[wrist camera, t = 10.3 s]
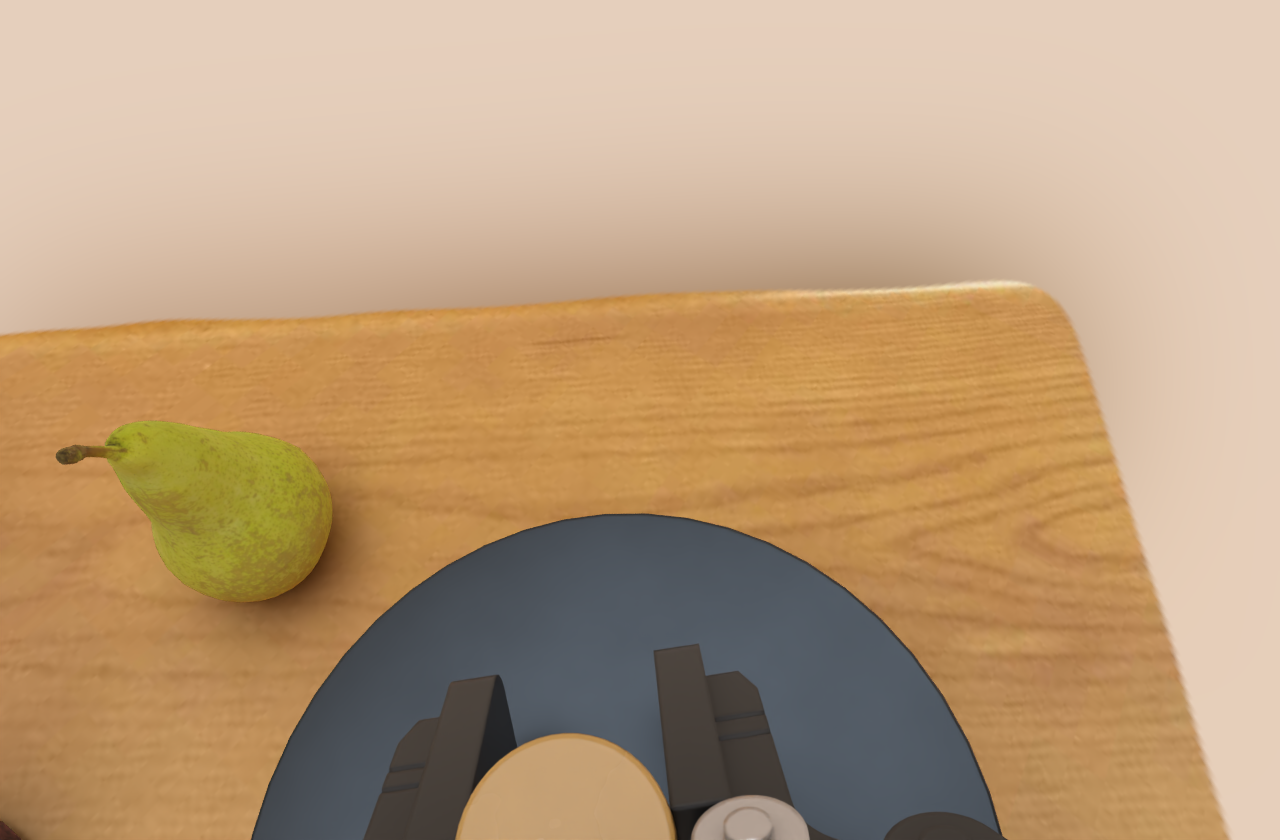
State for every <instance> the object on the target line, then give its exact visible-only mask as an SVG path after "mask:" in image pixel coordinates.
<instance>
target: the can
mask: <svg viewBox="0 0 1280 840" xmlns="http://www.w3.org/2000/svg"><path fill="white" fill-rule="evenodd" d="M0 840H21V838H20V837H18V836H17V835H16V834H15V833H14V832H13V831H12V830H11V829H10V828H9V827H8V826H7V825H5V824H4V823H3V822H2V821H0Z"/></svg>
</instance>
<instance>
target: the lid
mask: <svg viewBox="0 0 1280 840" xmlns="http://www.w3.org/2000/svg"><path fill="white" fill-rule="evenodd" d="M698 643H699V646H700V651H701V656H702V660H703V665H704V670H705V675H706V676H707V675H714V674H720V673H727V672H733V671H739V672H740V673H741V674H742V675H744V676H745V677H746V678H747V679H748V680H749V681H750V682H752V683H753V684H754V685H755V686H756V687H757V688H758V691H759V694H760V697H761V701H762V704H763V707H764V711H765V715H766V717H767V720H768V724H769V727H770V732H771V734H772V737H773V740H774V743H775V747H776V750H777V753H778V757H779V760H780V763H781V766H782V770H783V773H784V776H785V780H786V783H787V786H788V789H789V793H790V796H791V799H792V802H793V805H794V807H795V809H796V811H798V813H799V814H800V815H801V816H802V817H803V819H804V821H805V822H806V823H807V824H809V825H810V826H811V827H813V828H814V829H816V830H817V831H819V832H821V833H823V834H825V835H827V836H830V837H832V838H835V839H839V840H884V838H885V836H886V834H887V833H888V831H889V830H890V829H891V828H892V827H893V826H894V825H895V824H897V823H898V822H899V821H901V820H903V819H905V818H907V817H910V816H913V815H916V814H920V813H926V812H950V813H955V814H960V815H963V816H967V817H970V818H972V819H975V820H977V821H979V822H981V823H983V824H985V825H986V826H988V827H990V828H991V829H993V830H994V831H996V832H997V833H998V834H1000V835H1001V836H1002V832H1001V829H1000V825H999V822H998V818H997V815H996V811H995V808H994V804H993V801H992V797H991V794H990V791H989V789H988V786H987V784H986V781H985V779H984V777H983V774H982V772H981V769H980V767H979V765H978V762H977V760H976V757H975V755H974V753H973V750H972V748H971V745H970V743H969V741H968V739H967V737H966V736H965V734H964V732H963V730H962V728H961V727H960V725H959V723H958V721H957V719H956V718H955V716H954V714H953V712H952V710H951V709H950V707H949V705H948V703H947V701H946V700H945V698H944V696H943V695H942V693H941V692H940V690H939V689H938V688H937V686H936V685H935V684H934V682H933V681H932V679H931V678H930V677H929V675H928V674H927V672H926V671H925V670H924V668H923V667H922V665H921V664H920V663H919V661H918V660H917V658H916V657H915V656H914V654H913V653H912V652H911V651H910V650H909V649H908V648H907V647H906V646H905V645H904V643H903V642H902V641H901V640H900V639H899V638H898V637H897V636H896V635H895V634H894V632H893V631H892V630H891V629H890V628H889V627H888V626H887V625H886V624H885V623H884V622H883V620H882V619H881V618H880V617H878V616H877V615H876V614H875V613H874V612H873V611H871V610H870V609H869V608H868V607H867V606H866V605H865V604H863V603H862V602H861V601H860V600H859V599H858V598H856V597H855V596H854V595H853V594H852V593H851V592H850V591H848V590H847V589H846V588H845V587H843V586H842V585H840V584H839V583H837V582H836V581H834V580H833V579H831V578H830V577H829V576H827V575H826V574H824V573H823V572H821V571H820V570H818V569H817V568H815V567H814V566H812V565H811V564H809V563H808V562H806V561H804V560H802V559H800V558H798V557H796V556H794V555H792V554H790V553H788V552H786V551H784V550H782V549H781V548H779V547H777V546H775V545H773V544H771V543H769V542H766V541H763V540H761V539H758V538H755V537H753V536H750V535H747V534H744V533H742V532H739V531H736V530H734V529H731V528H728V527H724V526H719V525H715V524H711V523H707V522H702V521H698V520H694V519H690V518H682V517H673V516H664V515H655V514H602V515H595V516H587V517H580V518H572V519H565V520H561V521H557V522H553V523H549V524H545V525H541V526H538V527H534V528H530V529H526V530H523V531H520V532H518V533H515V534H512V535H510V536H507V537H505V538H502V539H500V540H497V541H495V542H492V543H489V544H487V545H484V546H482V547H481V548H479V549H477V550H475V551H473V552H471V553H469V554H467V555H466V556H464V557H462V558H460V559H458V560H456V561H454V562H452V563H451V564H449V565H447V566H445V567H444V568H442V569H441V570H439V571H438V572H437V573H435V574H434V575H432V576H431V577H429V578H428V579H426V580H425V581H423V582H422V583H421V584H419V585H418V586H416V587H415V588H413V589H412V590H410V591H409V592H408V593H407V594H406V595H405V596H403V597H402V598H401V599H400V600H399V601H398V602H397V603H395V604H394V605H393V606H392V607H391V608H390V609H388V610H387V611H386V612H385V613H384V614H383V615H382V616H380V617H379V618H378V619H377V620H376V621H375V622H374V623H373V624H372V625H371V626H370V627H369V628H368V630H367V631H366V632H365V633H364V634H363V635H362V636H361V637H360V638H359V639H358V640H357V641H356V643H355V644H354V645H353V646H352V647H351V648H350V649H349V650H348V651H347V652H346V653H345V654H344V656H343V657H342V658H341V660H340V661H339V662H338V664H337V665H336V666H335V668H334V669H333V671H332V672H331V673H330V675H329V676H328V677H327V679H326V680H325V681H324V683H323V684H322V685H321V687H320V688H319V689H318V691H317V692H316V694H315V695H314V697H313V699H312V700H311V702H310V704H309V705H308V707H307V709H306V711H305V712H304V714H303V716H302V717H301V719H300V721H299V723H298V724H297V726H296V728H295V729H294V731H293V733H292V734H291V736H290V738H289V740H288V743H287V745H286V747H285V749H284V751H283V754H282V756H281V758H280V760H279V763H278V765H277V767H276V769H275V771H274V774H273V776H272V778H271V780H270V783H269V785H268V788H267V791H266V794H265V797H264V800H263V803H262V806H261V809H260V812H259V815H258V819H257V822H256V825H255V828H254V831H253V834H252V838H251V840H363V839H364V836H365V833H366V830H367V828H368V825H369V822H370V819H371V816H372V814H373V811H374V808H375V805H376V803H377V800H378V797H379V794H382V786H383V783H384V781H385V778H386V775H387V773H389V767H390V764H391V761H392V758H393V756H394V753H395V750H396V747H397V745H398V743H399V742H400V741H401V740H402V738H403V737H404V736H405V735H406V734H407V733H408V732H409V731H410V730H411V729H412V727H413V726H414V725H415V724H416V723H417V722H418V721H419V720H423V719H429V718H436V717H440V714H441V710H442V707H443V704H444V701H445V697H446V694H447V691H448V687H449V685H450V683H451V682H453V681H459V680H466V679H472V678H478V677H485V676H491V675H499V676H500V677H501V679H502V681H503V685H504V689H505V693H506V697H507V702H508V707H509V711H510V716H511V720H512V725H513V729H514V734H515V739H516V743H517V748H516V749H514V750H512V751H511V752H509V753H508V754H507V755H505V756H504V757H503V758H502V759H500V760H499V761H498V762H497V763H496V764H495V765H494V766H493V767H492V768H491V769H490V770H489V771H488V772H487V773H486V774H485V776H484V777H483V778H482V779H481V781H480V782H479V783H478V785H477V786H476V788H475V790H474V791H473V793H472V794H471V796H470V798H469V800H468V802H467V804H466V806H465V808H464V811H463V813H462V816H461V819H460V822H459V825H458V829H457V833H456V838H455V840H678V837H677V831H676V827H675V823H674V820H673V816H672V813H671V810H670V803H669V794H668V784H667V775H666V765H665V756H664V747H663V737H662V728H661V719H660V709H659V700H658V690H657V681H656V672H655V662H654V652H653V650H660V649H666V648H673V647H679V646H686V645H692V644H698Z"/></svg>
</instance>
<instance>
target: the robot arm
mask: <svg viewBox="0 0 1280 840" xmlns="http://www.w3.org/2000/svg"><path fill="white" fill-rule="evenodd" d="M653 652H654V662H655V672H656V681H657V690H658V700H659V709H660V719H661V728H662V737H663V747H664V756H665V765H666V775H667V784H668V794H669V803H670V810H671V813H672V816H673V820H674V823H675V827H676V831H677V837H678V840H839V839H835V838H832V837H830V836H827V835H825V834H823V833H821V832H819V831H817V830H816V829H814V828H813V827H811V826H810V825H809V824H807V823H806V822H805V821H804V819H803V817H802V816H801V815H800V814H799V813H798V811H796V809H795V807H794V805H793V802H792V799H791V796H790V793H789V789H788V786H787V783H786V780H785V776H784V773H783V770H782V766H781V763H780V760H779V757H778V753H777V750H776V747H775V743H774V740H773V737H772V734H771V732H770V727H769V724H768V720H767V717H766V715H765V711H764V707H763V704H762V701H761V697H760V694H759V691H758V688H757V687H756V686H755V685H754V684H753V683H752V682H750V681H749V680H748V679H747V678H746V677H745V676H744V675H742V674H741V673H740V672H739V671H733V672H727V673H720V674H714V675H707V676H706V675H705V670H704V665H703V660H702V656H701V651H700V646H699V643H698V644H692V645H686V646H679V647H673V648H666V649H660V650H653ZM516 748H517V743H516V739H515V734H514V729H513V725H512V720H511V716H510V711H509V707H508V702H507V697H506V693H505V689H504V685H503V681H502V679H501V677H500V676H499V675H491V676H485V677H478V678H472V679H466V680H459V681H453V682H451V683H450V685H449V687H448V691H447V694H446V697H445V701H444V704H443V707H442V710H441V714H440V717H436V718H429V719H423V720H419V721H418V722H417V723H416V724H415V725H414V726H413V727H412V729H411V730H410V731H409V732H408V733H407V734H406V735H405V736H404V737H403V738H402V740H401V741H400V742H399V743H398V745H397V747H396V750H395V753H394V756H393V758H392V761H391V764H390V767H389V773H387V775H386V778H385V781H384V783H383V786H382V794H379V797H378V800H377V803H376V805H375V808H374V811H373V814H372V816H371V819H370V822H369V825H368V828H367V830H366V833H365V836H364V839H363V840H455V838H456V833H457V829H458V825H459V822H460V819H461V816H462V813H463V811H464V808H465V806H466V804H467V802H468V800H469V798H470V796H471V794H472V793H473V791H474V790H475V788H476V786H477V785H478V783H479V782H480V781H481V779H482V778H483V777H484V776H485V774H486V773H487V772H488V771H489V770H490V769H491V768H492V767H493V766H494V765H495V764H496V763H497V762H498V761H499V760H500V759H502V758H503V757H504V756H505V755H507V754H508V753H509V752H511V751H512V750H514V749H516ZM884 840H1007V839H1006V838H1004V837H1003V836H1001V835H1000V834H998V833H997V832H996V831H994V830H993V829H991V828H990V827H988V826H986V825H985V824H983V823H981V822H979V821H977V820H975V819H972V818H970V817H967V816H963V815H960V814H955V813H950V812H926V813H920V814H916V815H913V816H910V817H907V818H905V819H903V820H901V821H899V822H898V823H897V824H895V825H894V826H893V827H892V828H891V829H890V830H889V831H888V833H887V834H886V836H885V838H884Z"/></svg>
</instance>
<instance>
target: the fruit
mask: <svg viewBox="0 0 1280 840" xmlns="http://www.w3.org/2000/svg"><path fill="white" fill-rule="evenodd" d="M85 457H102V458H107V460H108V462H109V464H110V465H111V466H112V467H113V469H114V471H115V472H116V474H117V476H118V478H119V480H120V482H121V484H122V485H123V487H124V489H125V490H126V492H127V493H128V494H129V495H130V497H131V498H132V499H133V500H134V502H135V503H136V504H137V505H138V506H139V507H140V508H141V510H142V511H143V512H144V513H145V514H146V515H147V516H148V518H149V519H150V521H151V522H152V532H153V537H154V541H155V544H156V548H157V550H158V552H159V555H160V557H161V558H162V560H163V562H164V563H165V565H166V567H167V568H168V569H169V570H170V571H171V572H172V573H173V574H174V575H175V576H176V577H177V578H178V579H179V580H180V581H181V582H183V583H184V584H185V585H187V586H189V587H190V588H192V589H194V590H196V591H198V592H200V593H202V594H204V595H207V596H210V597H213V598H216V599H219V600H224V601H233V602H254V601H263V600H266V599H270V598H273V597H276V596H278V595H280V594H282V593H284V592H287V591H289V590H291V589H292V588H294V587H295V586H296V585H298V584H299V583H300V582H302V581H303V580H304V579H305V578H306V577H307V576H308V575H309V574H310V572H311V571H312V570H313V568H314V567H315V565H316V564H317V562H318V561H319V559H320V556H321V554H322V552H323V550H324V548H325V545H326V542H327V539H328V536H329V533H330V529H331V524H332V519H333V518H332V498H331V495H330V492H329V488H328V485H327V483H326V481H325V479H324V477H323V476H322V474H321V472H320V471H319V469H318V467H317V466H316V464H315V463H314V462H313V461H312V460H311V459H310V458H309V457H308V456H307V455H306V454H305V453H304V452H303V451H302V450H301V449H300V448H298V447H296V446H294V445H292V444H289V443H287V442H285V441H282V440H280V439H277V438H273V437H269V436H265V435H261V434H258V433H250V432H221V431H217V430H212V429H206V428H199V427H194V426H190V425H185V424H180V423H173V422H164V421H140V422H134V423H129V424H125V425H123V426H121V427H119V428H117V429H116V430H114V431H113V432H112V433H111V435H110V436H109V437H108V439H107V440H106V442H105V446H81V445H73V446H71V447H66V448H63V449H61V450H59V451H58V452H57V453H56V459H57V460H58V461H59V462H60V463H61V464H74V463H77V462H78V461H80V460H83V459H84V458H85Z"/></svg>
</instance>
